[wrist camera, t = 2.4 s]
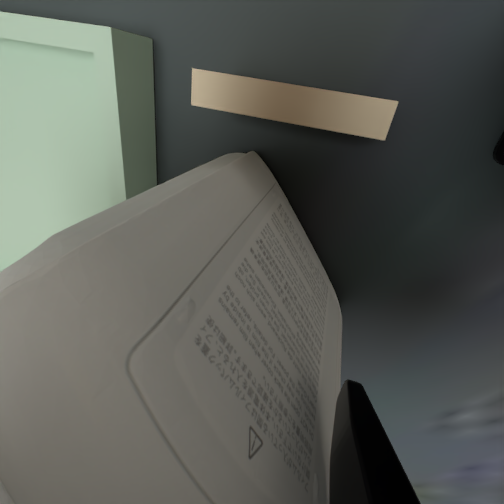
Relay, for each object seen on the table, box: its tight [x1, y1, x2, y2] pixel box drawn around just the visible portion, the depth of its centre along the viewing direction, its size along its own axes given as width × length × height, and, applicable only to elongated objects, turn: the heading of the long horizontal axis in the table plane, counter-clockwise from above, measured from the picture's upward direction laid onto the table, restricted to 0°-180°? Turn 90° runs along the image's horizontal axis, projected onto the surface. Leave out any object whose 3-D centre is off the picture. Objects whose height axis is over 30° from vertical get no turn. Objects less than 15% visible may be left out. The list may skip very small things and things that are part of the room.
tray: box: [0, 12, 157, 272], centre depth 16 cm, size 16×16×2 cm
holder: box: [191, 68, 399, 141], centre depth 13 cm, size 6×14×4 cm, turn 172°
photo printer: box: [0, 151, 342, 504], centre depth 10 cm, size 10×4×12 cm, turn 31°
